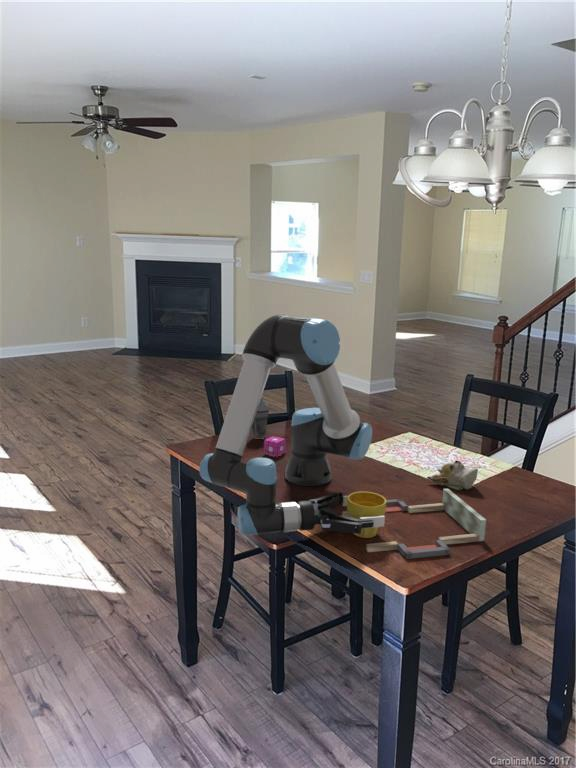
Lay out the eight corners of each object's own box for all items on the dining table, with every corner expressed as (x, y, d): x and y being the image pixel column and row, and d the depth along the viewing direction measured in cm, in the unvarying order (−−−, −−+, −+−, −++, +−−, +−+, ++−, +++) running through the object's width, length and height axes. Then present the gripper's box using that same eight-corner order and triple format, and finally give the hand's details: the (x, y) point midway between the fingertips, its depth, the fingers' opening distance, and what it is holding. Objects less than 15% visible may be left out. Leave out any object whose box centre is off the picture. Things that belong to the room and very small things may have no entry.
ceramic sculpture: (472, 468, 190) (426, 460, 199) (471, 495, 192) (425, 486, 200) (483, 459, 198) (439, 452, 207) (482, 485, 200) (438, 477, 209)
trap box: (341, 516, 175) (342, 496, 174) (446, 507, 183) (448, 488, 181) (368, 552, 155) (369, 530, 154) (484, 540, 163) (486, 519, 162)
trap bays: (362, 506, 182) (362, 502, 182) (400, 503, 185) (400, 498, 184) (405, 559, 153) (406, 553, 152) (450, 554, 155) (450, 549, 155)
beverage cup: (270, 440, 239) (271, 390, 234) (251, 441, 237) (252, 391, 233) (266, 434, 246) (267, 385, 241) (248, 435, 244) (249, 386, 240)
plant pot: (380, 523, 171) (382, 491, 169) (387, 541, 161) (389, 507, 159) (343, 523, 171) (345, 490, 169) (348, 541, 161) (349, 506, 159)
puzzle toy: (263, 455, 223) (264, 440, 222) (272, 450, 228) (272, 436, 227) (277, 458, 220) (277, 443, 219) (285, 453, 225) (285, 438, 224)
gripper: (286, 509, 173) (358, 503, 178) (309, 552, 149) (391, 544, 154) (287, 484, 171) (359, 479, 176) (310, 524, 147) (393, 517, 152)
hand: (374, 509), depth 165 cm, fingers open, 13 cm apart
